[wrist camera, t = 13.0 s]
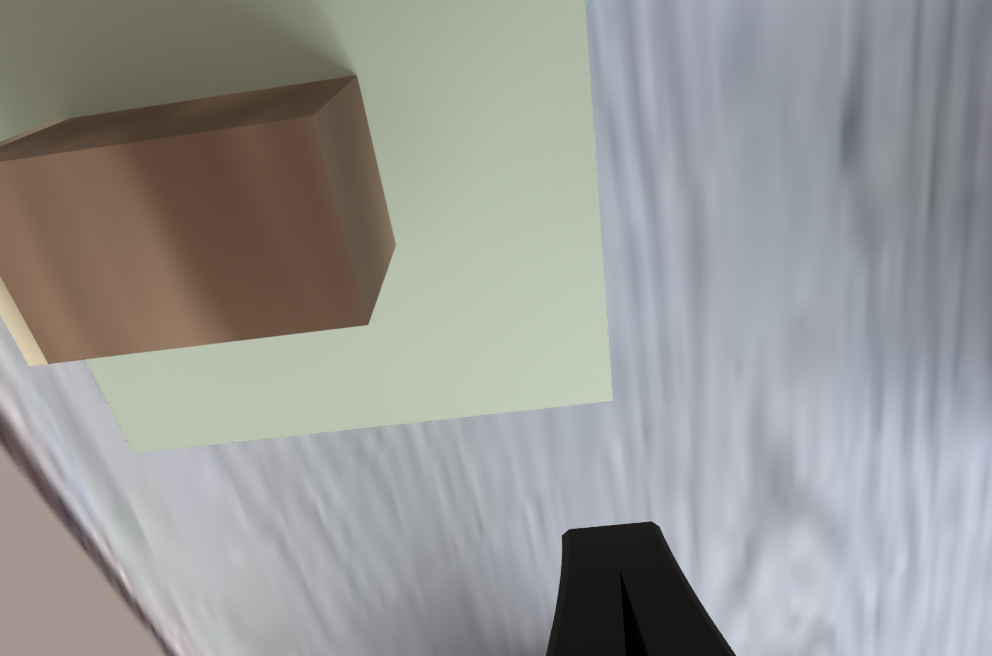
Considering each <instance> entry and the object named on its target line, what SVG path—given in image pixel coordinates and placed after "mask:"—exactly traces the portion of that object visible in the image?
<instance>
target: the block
mask: <svg viewBox="0 0 992 656" xmlns="http://www.w3.org/2000/svg"><path fill="white" fill-rule="evenodd" d="M395 247H396V243H395V239H394V234H393V230H392V226H391V221H390V217H389V212H388V208H387V204H386V199H385V195H384V191H383V186H382V182H381V178H380V173H379V169H378V164H377V160H376V156H375V151H374V147H373V143H372V138H371V134H370V129H369V125H368V121H367V116H366V112H365V108H364V103H363V99H362V95H361V90H360V86H359V81H358V77H357V75H355V76H349V77H342V78H335V79H328V80H322V81H315V82H308V83H302V84H295V85H288V86H282V87H275V88H268V89H262V90H255V91H248V92H242V93H235V94H228V95H222V96H215V97H208V98H202V99H195V100H188V101H182V102H175V103H168V104H162V105H155V106H148V107H142V108H135V109H128V110H121V111H115V112H108V113H101V114H95V115H88V116H81V117H75V118H68V119H61V120H55V121H51V122H48V123H46V124H43V125H41V126H38V127H36V128H33V129H31V130H28V131H26V132H23V133H21V134H18V135H16V136H13V137H11V138H8V139H6V140H3V141H1V142H0V315H1V316H2V318H3V320H4V322H5V324H6V325H7V327H8V329H9V331H10V332H11V334H12V336H13V338H14V340H15V341H16V343H17V345H18V347H19V348H20V350H21V352H22V354H23V355H24V357H25V359H26V361H27V363H28V364H29V366H36V365H44V364H52V363H60V362H69V361H77V360H85V359H93V358H101V357H110V356H118V355H126V354H134V353H143V352H151V351H159V350H167V349H176V348H184V347H192V346H200V345H209V344H217V343H225V342H233V341H242V340H250V339H258V338H266V337H275V336H283V335H291V334H299V333H308V332H316V331H324V330H332V329H341V328H349V327H357V326H365V325H368V324H369V322H370V319H371V316H372V313H373V310H374V307H375V304H376V301H377V299H378V296H379V293H380V290H381V287H382V284H383V281H384V279H385V276H386V273H387V270H388V267H389V264H390V261H391V258H392V256H393V253H394V250H395Z"/></svg>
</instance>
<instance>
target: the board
mask: <svg viewBox="0 0 992 656" xmlns="http://www.w3.org/2000/svg"><path fill="white" fill-rule="evenodd" d="M355 75H357V77H358V81H359V86H360V90H361V95H362V99H363V103H364V108H365V112H366V116H367V121H368V125H369V129H370V134H371V138H372V143H373V147H374V151H375V156H376V160H377V164H378V169H379V173H380V178H381V182H382V186H383V191H384V195H385V199H386V204H387V208H388V212H389V217H390V221H391V226H392V230H393V234H394V239H395V243H396V247H395V250H394V253H393V256H392V258H391V261H390V264H389V267H388V270H387V273H386V276H385V279H384V281H383V284H382V287H381V290H380V293H379V296H378V299H377V301H376V304H375V307H374V310H373V313H372V316H371V319H370V322H369V324H368V325H365V326H357V327H349V328H341V329H332V330H324V331H316V332H308V333H299V334H291V335H283V336H275V337H266V338H258V339H250V340H242V341H233V342H225V343H217V344H209V345H200V346H192V347H184V348H176V349H167V350H159V351H151V352H143V353H134V354H126V355H118V356H110V357H101V358H93V359H86V361H87V363H88V365H89V367H90V369H91V371H92V373H93V375H94V377H95V379H96V381H97V383H98V385H99V387H100V389H101V391H102V392H103V394H104V396H105V398H106V400H107V402H108V404H109V406H110V408H111V410H112V412H113V414H114V416H115V418H116V420H117V422H118V424H119V426H120V428H121V430H122V431H123V433H124V435H125V437H126V439H127V441H128V443H129V445H130V447H131V449H132V451H133V453H139V452H148V451H157V450H167V449H176V448H185V447H194V446H203V445H212V444H222V443H231V442H240V441H249V440H258V439H267V438H277V437H286V436H295V435H304V434H313V433H322V432H332V431H341V430H350V429H359V428H368V427H377V426H387V425H396V424H405V423H414V422H423V421H432V420H442V419H451V418H460V417H469V416H478V415H487V414H497V413H506V412H515V411H524V410H533V409H542V408H552V407H561V406H570V405H579V404H588V403H597V402H607V401H613V396H612V381H611V367H610V352H609V338H608V323H607V309H606V294H605V280H604V266H603V251H602V237H601V222H600V208H599V193H598V179H597V164H596V150H595V135H594V121H593V106H592V92H591V77H590V63H589V48H588V34H587V19H586V5H585V0H0V142H1V141H3V140H6V139H8V138H11V137H13V136H16V135H18V134H21V133H23V132H26V131H28V130H31V129H33V128H36V127H38V126H41V125H43V124H46V123H48V122H51V121H55V120H61V119H68V118H75V117H81V116H88V115H95V114H101V113H108V112H115V111H121V110H128V109H135V108H142V107H148V106H155V105H162V104H168V103H175V102H182V101H188V100H195V99H202V98H208V97H215V96H222V95H228V94H235V93H242V92H248V91H255V90H262V89H268V88H275V87H282V86H288V85H295V84H302V83H308V82H315V81H322V80H328V79H335V78H342V77H349V76H355Z"/></svg>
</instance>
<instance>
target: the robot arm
mask: <svg viewBox="0 0 992 656" xmlns="http://www.w3.org/2000/svg"><path fill="white" fill-rule="evenodd" d="M546 656H736V655H735V653H734V652H733V650H732V649H731V647H730V646H729V644H728V643H727V642H726V640H725V639H724V637H723V636H722V634H721V633H720V631H719V630H718V628H717V627H716V625H715V624H714V622H713V621H712V619H711V618H710V616H709V615H708V613H707V612H706V610H705V609H704V607H703V605H702V604H701V602H700V601H699V599H698V597H697V596H696V594H695V592H694V591H693V589H692V587H691V586H690V584H689V582H688V581H687V579H686V577H685V576H684V574H683V572H682V570H681V569H680V567H679V565H678V563H677V561H676V560H675V558H674V556H673V554H672V552H671V550H670V548H669V546H668V544H667V542H666V540H665V538H664V536H663V534H662V531H661V529H660V527H659V526H658V525H656V524H655V523H653V522H641V523H631V524H620V525H610V526H599V527H589V528H578V529H569V530H568V531H567V532H566V533H564V534H563V535H562V566H561V577H560V585H559V592H558V598H557V604H556V610H555V616H554V621H553V626H552V630H551V635H550V639H549V644H548V649H547V653H546Z"/></svg>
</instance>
